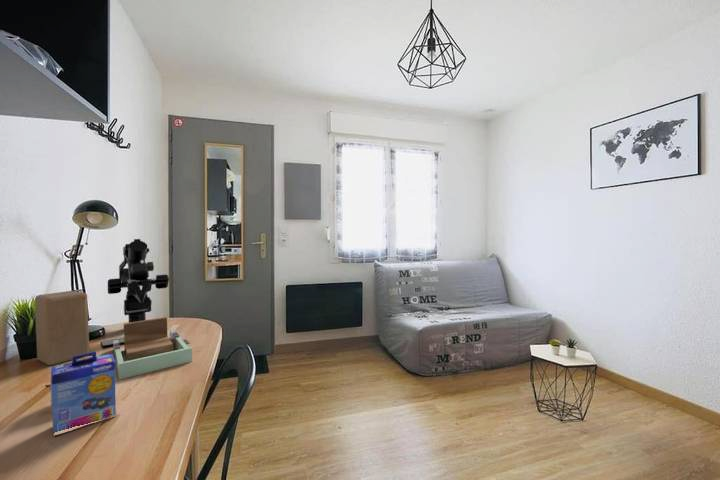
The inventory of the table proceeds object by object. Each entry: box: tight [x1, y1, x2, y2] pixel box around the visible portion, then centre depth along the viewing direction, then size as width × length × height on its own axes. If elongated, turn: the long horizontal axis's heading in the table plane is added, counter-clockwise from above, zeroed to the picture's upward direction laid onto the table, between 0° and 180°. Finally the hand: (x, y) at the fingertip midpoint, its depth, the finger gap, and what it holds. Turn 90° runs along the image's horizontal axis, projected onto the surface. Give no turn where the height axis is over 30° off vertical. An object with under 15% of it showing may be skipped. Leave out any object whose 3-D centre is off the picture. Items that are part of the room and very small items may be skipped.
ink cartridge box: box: [50, 351, 117, 434], centre depth 65 cm, size 10×6×14 cm, turn 135°
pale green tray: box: [111, 329, 193, 380], centre depth 100 cm, size 28×23×4 cm
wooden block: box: [34, 290, 90, 366], centre depth 99 cm, size 10×10×20 cm
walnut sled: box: [123, 316, 174, 361], centre depth 104 cm, size 12×12×9 cm
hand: (141, 301), depth 116 cm, fingers closed
